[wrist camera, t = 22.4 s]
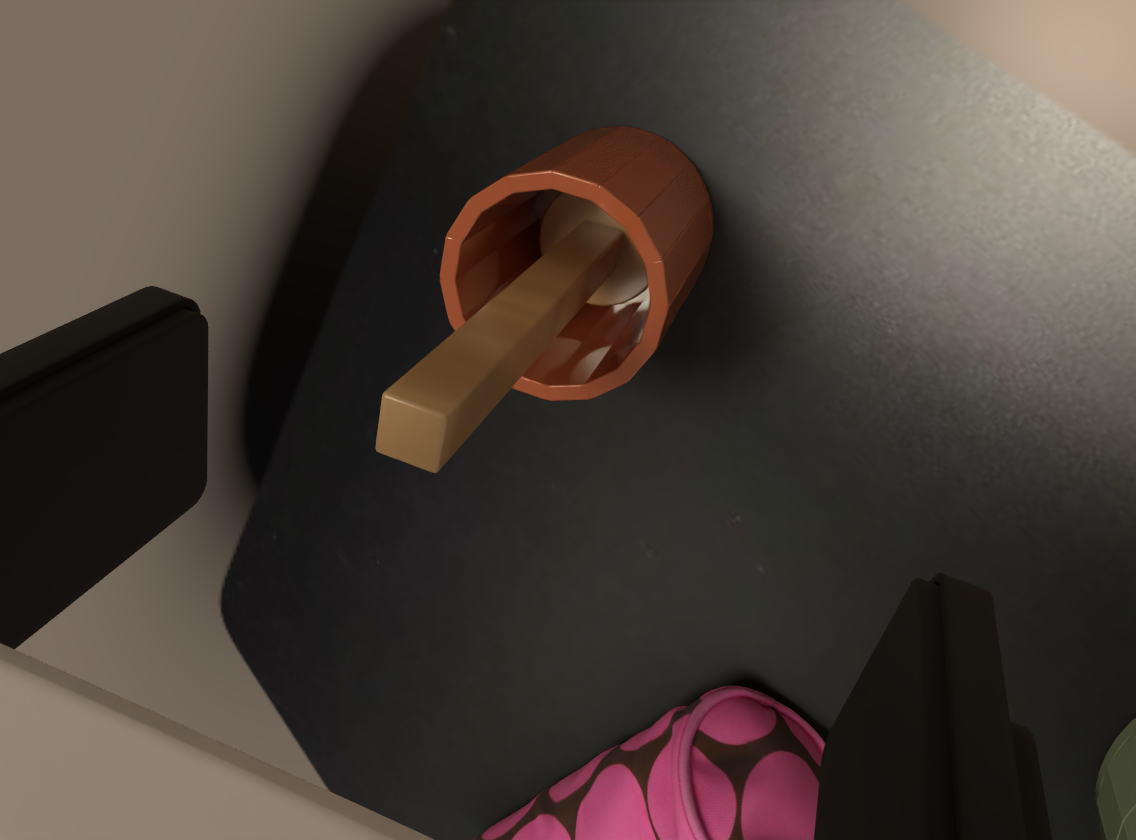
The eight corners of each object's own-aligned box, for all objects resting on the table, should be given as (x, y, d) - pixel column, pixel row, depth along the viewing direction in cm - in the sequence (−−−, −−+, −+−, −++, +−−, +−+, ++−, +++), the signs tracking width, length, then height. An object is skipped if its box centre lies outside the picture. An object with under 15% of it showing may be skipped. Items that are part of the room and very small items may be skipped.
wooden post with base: (574, 150, 31) (321, 303, 17) (692, 186, 30) (530, 375, 16) (549, 265, 33) (306, 485, 19) (658, 300, 32) (489, 555, 18)
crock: (552, 102, 31) (459, 141, 24) (738, 157, 30) (696, 213, 23) (516, 280, 34) (426, 358, 27) (683, 334, 33) (632, 431, 26)
